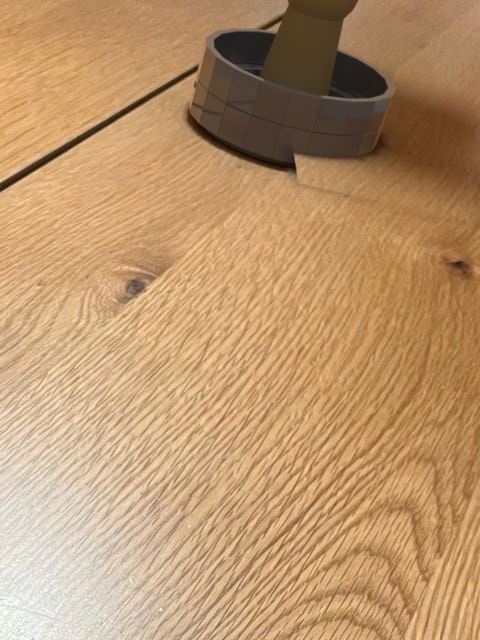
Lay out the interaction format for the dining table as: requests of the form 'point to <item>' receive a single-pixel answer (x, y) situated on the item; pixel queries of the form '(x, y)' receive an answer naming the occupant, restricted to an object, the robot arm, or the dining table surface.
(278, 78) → the olive brown pawn
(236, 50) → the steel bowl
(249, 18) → the dining table surface
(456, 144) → the dining table surface
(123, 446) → the dining table surface
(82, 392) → the dining table surface
